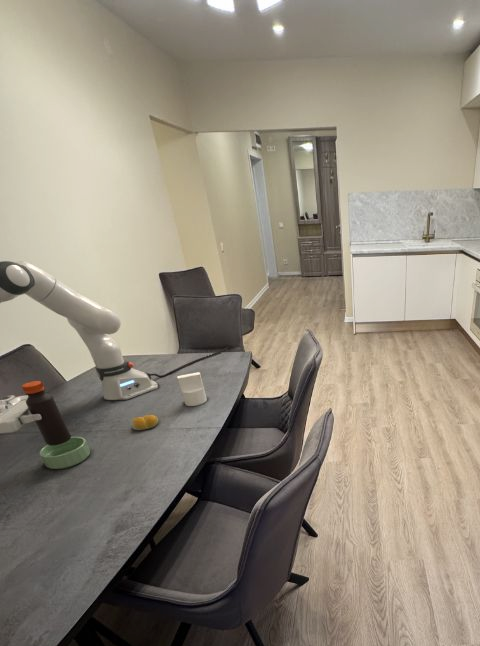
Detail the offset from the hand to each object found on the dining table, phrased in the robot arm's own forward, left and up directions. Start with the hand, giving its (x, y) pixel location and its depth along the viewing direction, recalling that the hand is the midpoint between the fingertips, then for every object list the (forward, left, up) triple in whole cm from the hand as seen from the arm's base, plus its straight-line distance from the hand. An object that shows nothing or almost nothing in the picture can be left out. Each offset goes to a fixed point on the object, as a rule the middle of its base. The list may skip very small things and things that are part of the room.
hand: (47, 410), depth 122 cm
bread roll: (-26, -5, -18) cm, 32 cm away
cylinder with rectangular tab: (-49, -13, -18) cm, 54 cm away
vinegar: (+1, 0, -11) cm, 11 cm away
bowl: (+1, 0, -18) cm, 18 cm away
